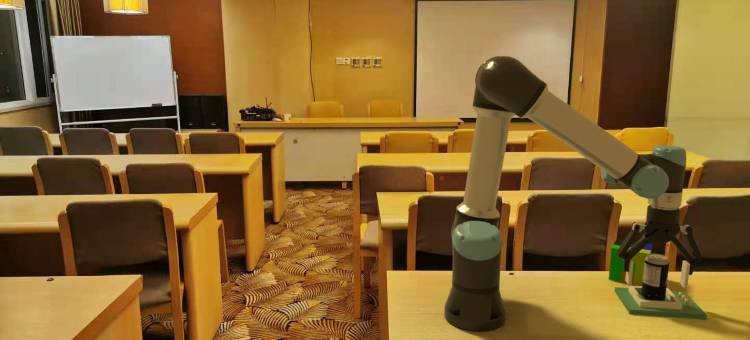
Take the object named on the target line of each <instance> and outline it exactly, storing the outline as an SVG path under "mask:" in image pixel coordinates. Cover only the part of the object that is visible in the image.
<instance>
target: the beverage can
mask: <svg viewBox="0 0 750 340" xmlns="http://www.w3.org/2000/svg"><path fill="white" fill-rule="evenodd" d="M669 269H670V261H669V258H668V256H666V255H664V254H660V253H652V254H648V255H647V257H646V259H645V263H644V272H643V282H642V292H641V295H642V297H643V298H644V299H645V300H651V301H664V300H665V297H666V288H668V287H667V286H668V278H669Z"/></svg>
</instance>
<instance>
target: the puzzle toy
mask: <svg viewBox="0 0 750 340" xmlns="http://www.w3.org/2000/svg"><path fill="white" fill-rule="evenodd" d="M624 240H625V238H624V239H623V238H616V239H615V241H614V242H613V244H612V245H611V249H610V260H609V270H608V271H609V272H608V280H609V281H612V282H617V283H622V284H627V282H626V281H625V279H626V272H625V271H624V270H623V258H620V257H619V256H618V255H617V253H616V252H617V250H618V249H619V247H620V246H621V244H622V243H623V241H624ZM636 242H637V241H635V240H634V242H633V243H632V245H631V246H630V248H631V247H632V246H633V245H634V244H635V243H636ZM630 248H629V249H630ZM653 248H654V244H653V243H649V244H647V245H646V246H645V247H644V248H643V249H642V250H641V251H639V252H638V253H637V254H636V255H635V256H634V257H633V258H632V260H633V261H634V262H633V273H632V283H631V285H632V286H642V282H643V272H644V263H645V259H646V257H647V255H648V254H653ZM629 249H628V250H629Z"/></svg>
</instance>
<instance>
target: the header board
mask: <svg viewBox="0 0 750 340" xmlns="http://www.w3.org/2000/svg"><path fill="white" fill-rule="evenodd" d="M641 292H642V286H638V285H628V287H621V286H620V287H617V286H615V287H614V293H615V294H616V295H617V297H618V299H619V300H620V302H621V303H622V305H623V306H624V308H625V310H626V311H627V312H628V314H629V315H640V316H641V315H642V316H658V317H669V318H670V317H672V318H685V319H686V318H687V319H698V320H699V319H702V320H707V315H708V314H707V313H706V312H705V311H704V310H703V309H702V308H701V307H700V306H699V305H698V304H697V303H696V302H695V301H694V300H693V299H692V298H691V296H690V295H689V294H688V293H687V292H685V291H684V290H671V289H669V288H668V287H667V288H666V297H665V300H664V301H651V300H645V299H644V298H643V297H642V295H641Z"/></svg>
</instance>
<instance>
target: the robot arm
mask: <svg viewBox="0 0 750 340" xmlns="http://www.w3.org/2000/svg"><path fill="white" fill-rule="evenodd" d="M474 79H475V80H474V82H475V88H474V94H473V101H472V108H473V110H474V111H475V113H476V121H475V126H474V132H473V139H472V145H471V152H470V159H469V164H468V170H467V176H466V183H465V189H464V195H463V201H462V202H461V203H459V204H458V205H457V206H456V210H455V216H454V222H453V224H452V226H451V232H450V235H451V236H450V237H451V242H452V243H451V244H452V271H451V273H452V277H451V288H450V291H449V294H448V295H447V299H446V301H445V304H444V311H443V312H444V313H443V315H444V319H445V320H446V321H447V322H448V323H449V324H451V325H452V326H455V327H457V328H460V329H462V330H465V331H466V330H467V331H472V332H473V331H474V332H487V331H492V330H496V329H498V328H500V327H502V326H503V325H504V324H505V322H506V314H507V313H506V308H505V304H504V300H503V298H502V294H501V291H500V285H501V284H500V283H501V282H500V281H501V263H502V261H501V260H502V259H501V258H502V249H503V238H502V233H501V231H500V229H499V224H500V219H501V218H500V217H501V214H500V212H499V210H498V209H497V208H496V206H497V199H498V194H499V190H500V183H501V177H502V172H503V166H504V159H505V156H506V155H505V154H506V148H507V142H508V138H509V137H508V136H509V131H510V130H509V129H510V126H511V125H510V124H511V120H512V119H513V118H514V117H515V116H517V117H518V118H520V119H525V118H526V119H527V118H528V119H529V120H530V121H532V122H533V123H535V124H536V125H538V126H539V127H540V128H541V129H544V131H547V132H548V133H549V134H551V135H552V136H553V137H554V138H556V139H558V140H559V141H561V142H562V143H564V144H565V145H566V146H568V147H569V148H571V149H572V150H573V151H575V152H576V153H578V154H579V155H581V156H582V157H583V158H585V159H587V160H588V161H590V163H592V164H594V165H595V166H597V167H598V168H599V169H600V177H601V180H603V182H605V183H610V184H622V185H623V186H625V187H626V188H627V189H629V190H631V191H632V192H633V193H634V194H636V195H637V196H639V197H640V198H643V199H647V204H648V206H646V216H645V222H644V223H638V222H636V221H634V222H632V224H631V227H630V231H629V232H628V234H627V235H626V237H625V238H624V241H623V243H622V244H621V246H620V247H619V249H618V250H617V252H616V253H617V255H618V256H619V257H620V258H623V270H624V271H625V272H626V279H625V281H626V282H627V283H626V284H627V285H628V286H632V284H631V283H632V273H633V262H634V261H633V260H632V258H633V257H634V256H635V255H636V254H637V253H638V252H639V251H641V250H642V249H643V248H644V247H645V246H646V245H647V244H649V243H650V244H652V243H653V242H655V243H660V242H661V243H670V242H671V243H672V244H673V245H674V246H675V248H677V250H678V252H680V254H681V255H682V256H683V257H684V259H685V260H682V265H681V272H680V282H679V285H681V287H682V288H684V289H688V284H689V276H692V275H693V274H694V268H695V267H694V266H695V265H696V264H697V263H702V262H703V261H704V259H703V258H704V257H702V254H701V252H700V250H699V247H698V245H697V242H696V240H695V238H694V236H693V227H691V226H690V225H689V224H687V223H685V224H684V225H680V218H681V209H680V207H682V200H683V199H682V198H683V190H684V181H685V173H686V168H687V150H686V149H685V148H684V147H682V146H677V145H664V144H662V145H655V146H654V147H653V149H652V151H651V153H638V152H637V151H635V150H633V149H632V148H631V147H630V146H628V145H627V144H625V143H624V142H622V141H621V140H619V139H618V138H616V137H615V136H613V135H612V134H610V132H608V131H606V130H605V129H604V128H603V127H600V126H599V125H598V124H596V123H595V122H593V121H592V120H591V119H589V118H588V117H586V116H585V115H583V114H582V113H581V112H580V111H578V110H577V109H575V108H574V107H573V106H571V105H570V104H568V103H567V102H565V101H564V100H562V99H561V98H560V97H558V96H557V95H555V94H554V93H552V92H551V91H550V90H549V87H548V84H547V83H546V81H545V82H544V80H542V79H541V78H539V77H538V76H537V75H536V74H535V73H533V72H532V71H531V70H530V69H529V68H528V67H527V66H526V65H524V63H522V62H521V61H520V60H519V59H517V58H515V57H512V56H506V55H501V56H500V55H496V56H493V57H490V58H488V59H486V60H485V61H484V62H483V63H481V64H480V66H479V67H478V68H477V71H476V73H475V77H474ZM642 231H644V232H645V233H643V234H642V236H641V238H639V239H638V241H637V242H636V243H635V244H634V245H633V246H632V247H631V248H630V246H631V245H632V243H633V242H634V241H635V240H636V239H637V238H638V236H639V233H641V232H642ZM680 232H681V233H682V234H683V236H684V238H685V240H686V242H687V244H688V247H689V249H690V251H691V254H692V256H691V254H690V252H688V250H687V249H686V247H685V246H684V245H683V244H682V242H680V240H679V239H678V237H677V235H678V234H679V233H680ZM651 242H652V243H651ZM629 248H630V249H629ZM628 249H629V250H628Z"/></svg>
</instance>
